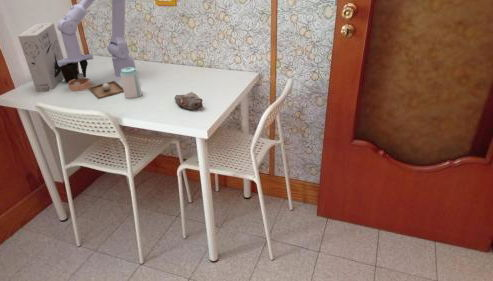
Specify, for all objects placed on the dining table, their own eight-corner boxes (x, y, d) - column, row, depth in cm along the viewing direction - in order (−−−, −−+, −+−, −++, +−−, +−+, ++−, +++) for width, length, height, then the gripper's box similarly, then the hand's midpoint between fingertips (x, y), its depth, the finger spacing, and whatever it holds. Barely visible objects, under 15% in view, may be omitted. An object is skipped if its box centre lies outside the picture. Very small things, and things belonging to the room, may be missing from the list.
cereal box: (53, 90, 170) (36, 34, 158) (36, 91, 170) (17, 35, 157) (68, 73, 189) (53, 22, 176) (52, 74, 189) (36, 23, 176)
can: (121, 97, 162) (115, 70, 156) (134, 91, 167) (129, 65, 160) (132, 100, 158) (127, 73, 152) (145, 95, 163) (140, 68, 157)
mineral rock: (171, 101, 156) (170, 92, 154) (189, 97, 160) (188, 87, 158) (187, 115, 146) (186, 104, 143) (205, 109, 149) (204, 99, 147)
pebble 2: (83, 78, 173) (81, 71, 172) (85, 80, 171) (84, 73, 169) (76, 80, 172) (74, 73, 170) (78, 82, 169) (76, 75, 168)
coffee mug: (76, 85, 176) (70, 64, 170) (59, 84, 177) (53, 63, 172) (90, 75, 185) (84, 55, 180) (74, 75, 187) (68, 55, 182)
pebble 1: (81, 85, 172) (78, 79, 170) (83, 87, 170) (80, 81, 168) (74, 88, 171) (71, 82, 169) (76, 90, 169) (73, 84, 167)
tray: (114, 83, 175) (114, 80, 175) (126, 92, 166) (125, 89, 165) (88, 90, 169) (87, 87, 169) (98, 100, 160) (98, 97, 159)
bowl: (87, 82, 177) (86, 76, 176) (93, 88, 171) (92, 81, 169) (67, 87, 173) (65, 81, 171) (73, 93, 167) (71, 87, 165)
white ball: (109, 88, 169) (107, 81, 168) (111, 90, 167) (110, 83, 165) (102, 90, 168) (100, 83, 166) (104, 92, 165) (102, 85, 164)
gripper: (57, 53, 157) (66, 84, 164) (92, 46, 165) (99, 76, 172) (53, 49, 162) (61, 80, 169) (87, 43, 170) (94, 72, 177)
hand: (80, 77), depth 171 cm, fingers closed on pebble 2, 3 cm apart
